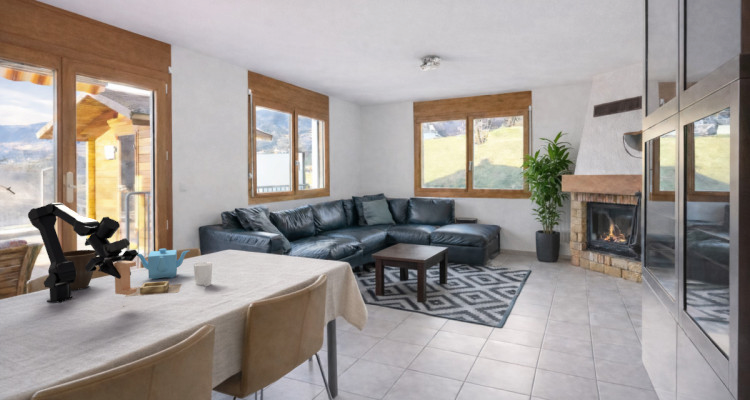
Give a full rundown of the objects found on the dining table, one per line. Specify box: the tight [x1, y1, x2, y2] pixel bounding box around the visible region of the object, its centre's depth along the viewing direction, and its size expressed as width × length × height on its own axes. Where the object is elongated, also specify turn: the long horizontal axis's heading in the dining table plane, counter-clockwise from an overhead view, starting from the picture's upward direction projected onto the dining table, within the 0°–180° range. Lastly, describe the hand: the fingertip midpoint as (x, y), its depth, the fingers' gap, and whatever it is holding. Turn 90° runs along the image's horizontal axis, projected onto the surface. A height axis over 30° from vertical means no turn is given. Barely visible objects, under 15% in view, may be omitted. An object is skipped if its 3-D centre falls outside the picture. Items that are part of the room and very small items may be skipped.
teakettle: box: [136, 248, 190, 280], centre depth 201 cm, size 19×19×15 cm
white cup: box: [193, 261, 213, 288], centre depth 189 cm, size 8×8×10 cm
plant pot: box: [63, 249, 98, 291], centre depth 183 cm, size 15×15×16 cm
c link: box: [113, 261, 137, 296], centre depth 155 cm, size 6×4×12 cm, turn 74°
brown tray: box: [124, 280, 183, 298], centre depth 177 cm, size 20×14×4 cm
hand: (125, 276), depth 155 cm, fingers closed on c link, 4 cm apart
